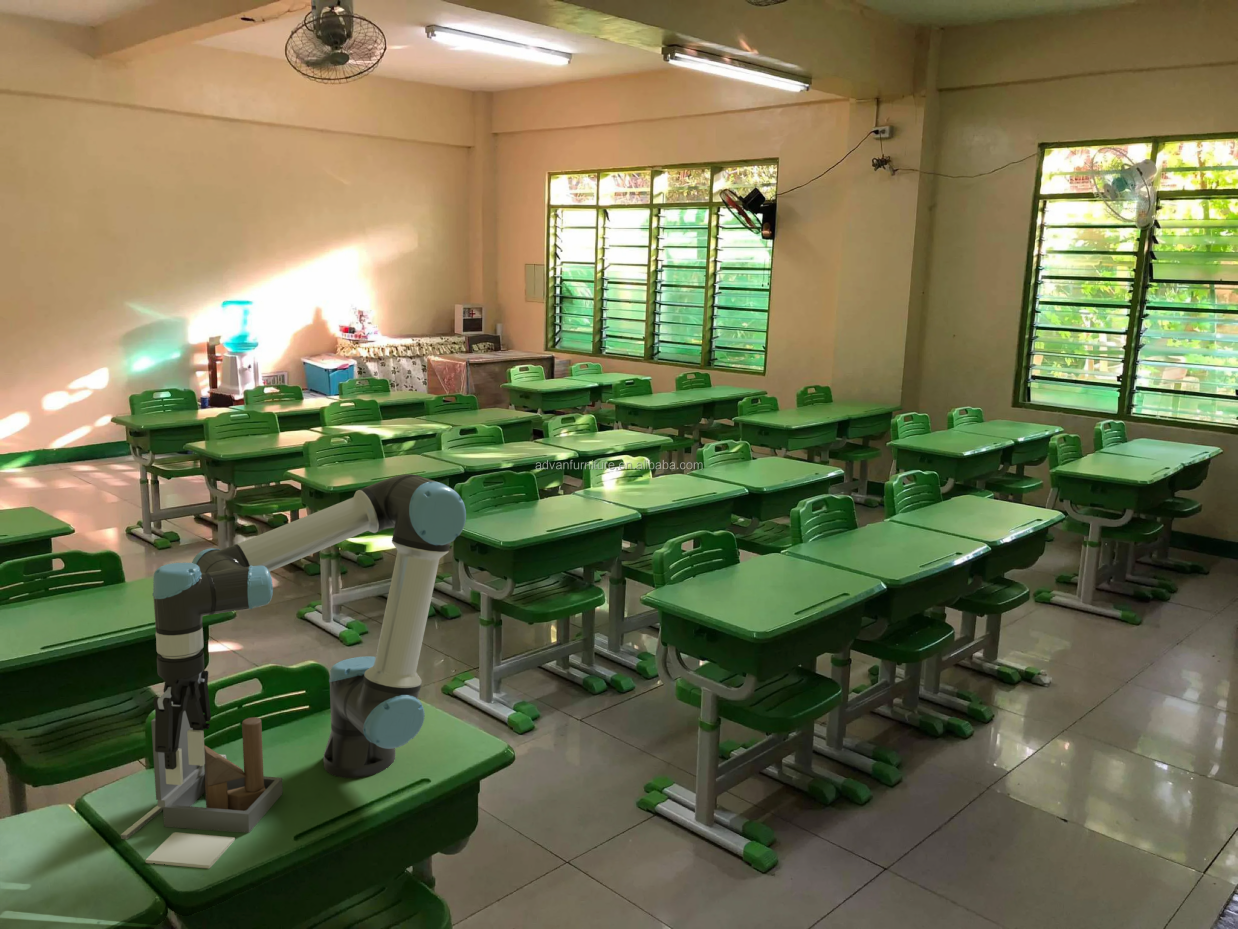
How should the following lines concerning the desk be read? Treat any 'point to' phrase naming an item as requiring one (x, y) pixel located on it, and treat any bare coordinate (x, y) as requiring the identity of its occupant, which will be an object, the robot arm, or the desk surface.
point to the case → (183, 796)
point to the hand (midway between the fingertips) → (186, 773)
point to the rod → (141, 822)
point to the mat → (190, 850)
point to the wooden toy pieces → (236, 772)
